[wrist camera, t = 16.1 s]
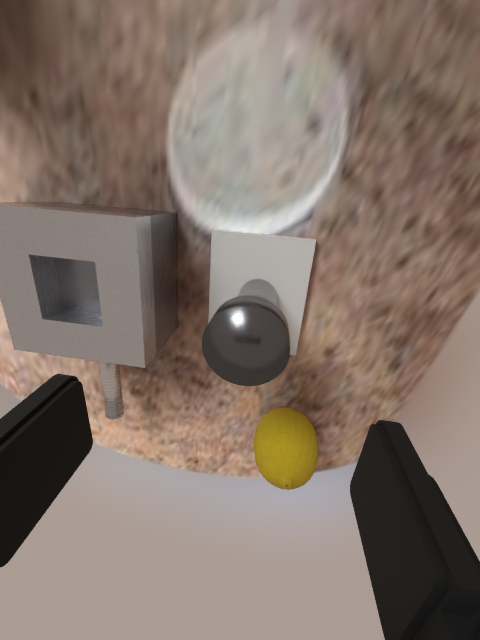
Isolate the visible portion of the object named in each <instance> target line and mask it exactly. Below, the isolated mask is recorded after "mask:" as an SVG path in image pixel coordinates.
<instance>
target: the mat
mask: <svg viewBox="0 0 480 640" xmlns="http://www.w3.org/2000/svg"><path fill="white" fill-rule="evenodd" d="M315 245H316V239H308V238H298V237H287V236H276V235H266V234H255V233H245V232H234V231H223V230H212V238H211V266H210V293H209V321H208V324H209V322H210V321H211V319H212V317H213V316H214V314H215V312H216V311H217V309H218V308H219V307H220V306H221V305H222V304H223V303H225V302H226V301H228V300H230V299H232V298H235V297H237V296H238V294H239V292H240V290H241V288H242V286H243V285H244V284H245V283H247V282H248V281H250V280H253V279H262V280H265V281H268V282H269V283H270V284H272V285H273V287H274V288H275V290H276V292H277V307H278V308H279V309H280V310H281V311H282V313H283V314H284V316H285V318H286V320H287V323H288V326H289V337H290V355H294V356H296V352H297V346H298V341H299V335H300V329H301V324H302V318H303V312H304V307H305V301H306V296H307V290H308V284H309V279H310V273H311V267H312V262H313V256H314V250H315Z"/></svg>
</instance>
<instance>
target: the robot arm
mask: <svg viewBox="0 0 480 640" xmlns="http://www.w3.org/2000/svg"><path fill="white" fill-rule="evenodd" d="M92 444H93V439H92V433H91V428H90V423H89V418H88V412H87V407H86V402H85V396H84V391H83V386H82V383H81V382H79V381H78V378H77V377H75V376H69V375H62V374H56V375H54V376H53V377H52V378H50V379H49V380H48V381H47V382H45V383H44V384H43V385H42V386H40V387H39V388H38V389H37V390H35V391H34V392H33V393H32V394H31V395H29V396H28V397H27V398H26V399H24V400H23V401H22V402H21V403H20V404H18V405H17V406H16V407H14V408H13V409H12V410H11V411H9V412H8V413H7V414H6V415H5V416H3V417H2V418H1V419H0V567H3V566H4V565H6V564H7V563H8V562H9V560H10V559H11V558H12V557H13V555H14V554H15V553H16V551H17V550H18V548H19V547H20V546H21V544H22V543H23V542H24V540H25V539H26V538H27V536H28V535H29V533H30V532H31V531H32V529H33V528H34V527H35V525H36V524H37V523H38V521H39V520H40V519H41V517H42V516H43V514H44V513H45V512H46V510H47V509H48V508H49V506H50V505H51V503H52V502H53V501H54V499H55V498H56V497H57V495H58V494H59V493H60V491H61V490H62V489H63V487H64V486H65V484H66V483H67V482H68V480H69V479H70V478H71V476H72V475H73V474H74V472H75V471H76V470H77V468H78V467H79V465H80V464H81V463H82V461H83V460H84V459H85V457H86V456H87V454H88V453H89V452H90V450H91V448H92ZM350 494H351V499H352V503H353V507H354V511H355V516H356V520H357V524H358V528H359V532H360V537H361V541H362V545H363V549H364V554H365V557H366V562H367V566H368V571H369V575H370V579H371V583H372V587H373V592H374V595H375V600H376V604H377V609H378V613H379V617H380V621H381V625H382V629H383V633H384V637H385V640H480V561H479V560H478V558H477V556H476V554H475V552H474V550H473V549H472V547H471V545H470V543H469V541H468V539H467V537H466V536H465V534H464V532H463V530H462V528H461V527H460V525H459V523H458V521H457V519H456V517H455V515H454V514H453V512H452V510H451V508H450V506H449V504H448V503H447V501H446V499H445V498H444V495H443V493H442V492H441V490H440V488H439V486H438V484H437V483H436V481H435V480H434V478H432V477H431V476H430V475H428V473H427V471H426V469H425V467H424V466H423V464H422V462H421V460H420V458H419V456H418V454H417V452H416V451H415V449H414V447H413V445H412V443H411V441H410V439H409V437H408V436H407V434H406V432H405V430H404V428H403V426H402V425H401V424H400V423H397V422H390V421H383V420H379V421H378V422H377V423H376V424H372V425H371V426H370V428H369V431H368V434H367V437H366V440H365V443H364V446H363V449H362V451H361V454H360V457H359V460H358V463H357V466H356V469H355V472H354V474H353V477H352V480H351V484H350Z"/></svg>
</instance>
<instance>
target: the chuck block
mask: <svg viewBox="0 0 480 640" xmlns="http://www.w3.org/2000/svg"><path fill="white" fill-rule="evenodd" d="M0 298H1V301H2V305H3V309H4V313H5V316H6V320H7V324H8V328H9V331H10V335H11V339H12V343H13V346H14V350H21V351H28V352H35V353H42V354H49V355H57V356H64V357H71V358H78V359H85V360H92V361H98V365H99V372H100V379H101V386H102V394H103V401H104V408H105V415H106V417H107V418H108V419H117V418H119V417H121V416H122V415H123V414H124V407H123V397H122V388H121V378H120V369H119V364H120V365H127V366H134V367H142V368H146V366H147V365H148V364H149V363H150V361H151V360H152V359H153V358H154V356H155V355H156V354H157V353H158V352H159V350H160V349H161V348H162V347H163V345H164V344H165V343H166V342H167V340H168V339H169V338H170V337H171V335H172V334H173V333H174V332H175V330H176V329H177V328H178V294H177V213H173V212H162V211H151V210H139V209H128V208H117V207H106V206H95V205H84V204H73V203H62V202H0Z"/></svg>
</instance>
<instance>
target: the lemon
mask: <svg viewBox="0 0 480 640" xmlns="http://www.w3.org/2000/svg"><path fill="white" fill-rule="evenodd" d="M254 453H255V459H256V463H257V466H258V468H259V470H260V473H261V474H262V475H263V477H264V478H265V479H266V480H267V481H268V482H270V483H271V484H272V485H274V486H276V487H278V488H282V489H295V488H298V487H300V486H302V485H304V484H305V483H306V482H307V481H308V480H310V478H311V477H312V475H313V473H314V471H315V469H316V465H317V459H318V442H317V436H316V433H315V430H314V428H313V426H312V424H311V423H310V421H309V420H308V419H307V418H306V417H305V415H303V414H302V413H301V412H299V411H298V410H295V409H292V408H288V407H279V408H276V409H273V410H271V411H269V412H268V413H267V414H266V415H264V416H263V417H262V419H261V420H260V422H259V424H258V426H257V428H256V432H255V437H254Z"/></svg>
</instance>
